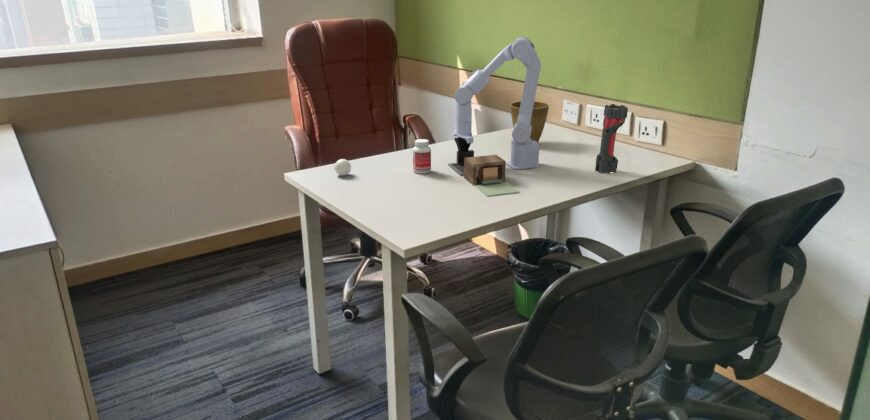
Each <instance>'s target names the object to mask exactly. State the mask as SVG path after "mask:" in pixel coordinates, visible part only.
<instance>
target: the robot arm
mask: <svg viewBox="0 0 870 420" xmlns="http://www.w3.org/2000/svg"><path fill="white" fill-rule="evenodd" d="M536 49H537V48H536V47H535V44H534V43H533V42H532V41H531V40H530V39H529V38H528V37H526V36H519V37H517V38H515V39H514V41H513V42H511V43H509V44H508V45H507V46H505V47H504V48H503V49H501V51H499V53H498V54H497V55H496V56H495V57H494V58H493V59H492V60H491V61H490V62H489V63H488V64H487V65H486V66H485V67H484V68H483V69H477V70H473V71H472V72H471V73H470V74H471V76H470V77H468V79H466V80H465V81H463V82H461V86H460V87H458V88H456V89H457V90H456V91H455V92H454V101H455V112H454V113H455V115H454V116H455V117H454V118H455V120H454V121H455V122H454V123H455V127H454V128H453V132H452V133H451V136H452V137H453V138H454V139H453V140H454V142H455V144H456V147H457V151H465V150H470V147H471V144H474V137H473V132H472V123H473V122H472V119H473V117H472V116H473V114H472V113H473V112H472V110H473V107H472V99H473V97H474V96H477V94H479V92H480V91H481V90H482V89H484V88H485V86H486V85H488V84H489V82H490V76H491V75H492V74H493V73H494V72H496V70H498V69H499V68H500V67H501V66H502V65H503V64H505V63H506V62H507V61H513V60H515V59H517V60H518V61H520V62H521V64H523V65H524V67H525V68H526V73H525V79H524V84H523V87H522V95H521V99H520V102H521V104H520V110H519V115H518V120H517V122H516V124H515V126H514V127H513V130H512V132H511V138H512V139H511V140H510V141H511V142H510V146H511V147H510V161H506V166H507V165H508V166H509V167H511V168H512V169H514V170H523V169H524V170H525V169H535V168H539V167H540V165H539V157H540V147H539V146H540V145H539V142H538V143H537V141H535V140H532V139H531V138H530V136H531V131H532V126H531V116H532V111H533V106H534V101H535V100H536V95H537V89H538V84H539V79H540V72H541V69H542V62H541V61H542V60H541V59H540V56H539V53H538V52H537V50H536Z"/></svg>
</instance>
